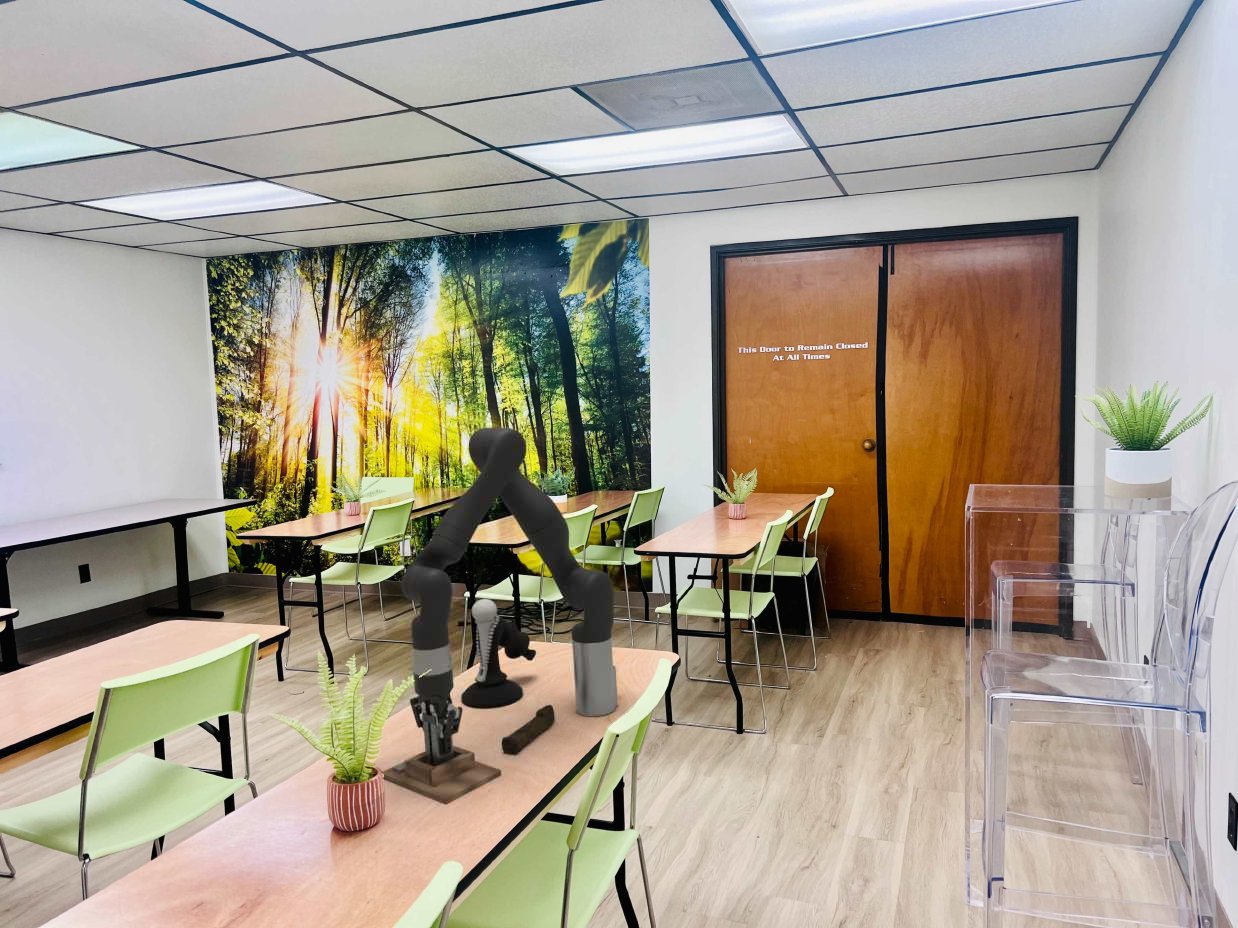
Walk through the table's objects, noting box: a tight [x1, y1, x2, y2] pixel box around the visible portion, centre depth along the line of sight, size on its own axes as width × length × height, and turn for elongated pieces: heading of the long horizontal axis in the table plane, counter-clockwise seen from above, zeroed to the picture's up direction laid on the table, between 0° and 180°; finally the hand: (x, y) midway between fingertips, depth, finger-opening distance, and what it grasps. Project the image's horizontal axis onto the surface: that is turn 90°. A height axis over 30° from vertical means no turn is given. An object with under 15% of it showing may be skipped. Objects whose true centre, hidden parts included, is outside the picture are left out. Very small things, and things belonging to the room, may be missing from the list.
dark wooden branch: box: [501, 704, 556, 756], centre depth 186 cm, size 19×4×5 cm, turn 152°
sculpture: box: [460, 598, 537, 710], centre depth 214 cm, size 15×24×25 cm, turn 147°
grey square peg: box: [423, 713, 454, 767], centre depth 169 cm, size 4×4×13 cm
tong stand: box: [381, 745, 502, 805], centre depth 169 cm, size 14×20×4 cm
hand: (439, 751), depth 169 cm, fingers closed on grey square peg, 3 cm apart
